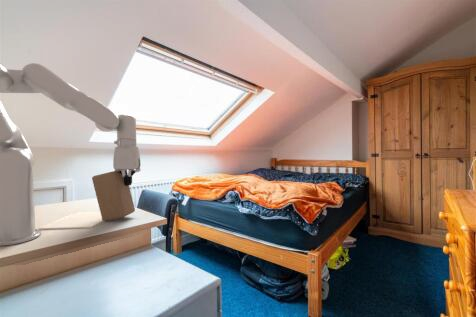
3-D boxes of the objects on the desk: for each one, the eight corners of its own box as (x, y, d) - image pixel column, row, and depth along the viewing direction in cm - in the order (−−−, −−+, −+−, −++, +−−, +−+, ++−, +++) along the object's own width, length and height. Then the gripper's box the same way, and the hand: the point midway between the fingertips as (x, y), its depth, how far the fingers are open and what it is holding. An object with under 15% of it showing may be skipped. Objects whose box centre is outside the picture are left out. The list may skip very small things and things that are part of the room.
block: (136, 211, 106) (125, 169, 105) (123, 217, 96) (111, 171, 96) (116, 215, 107) (106, 174, 106) (101, 222, 97) (90, 176, 97)
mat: (38, 229, 89) (38, 228, 89) (74, 213, 111) (74, 212, 111) (92, 228, 90) (91, 226, 90) (117, 212, 112) (117, 211, 112)
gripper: (104, 143, 96) (106, 187, 97) (141, 143, 97) (142, 186, 98) (113, 143, 104) (114, 184, 104) (147, 143, 104) (148, 183, 105)
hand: (128, 185), depth 101 cm, fingers closed
